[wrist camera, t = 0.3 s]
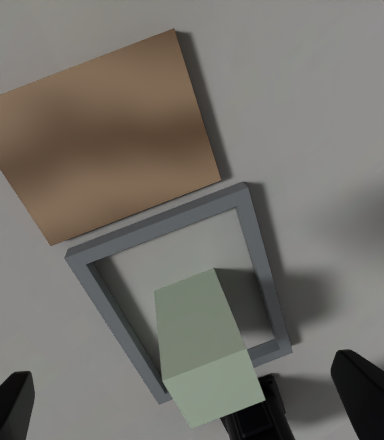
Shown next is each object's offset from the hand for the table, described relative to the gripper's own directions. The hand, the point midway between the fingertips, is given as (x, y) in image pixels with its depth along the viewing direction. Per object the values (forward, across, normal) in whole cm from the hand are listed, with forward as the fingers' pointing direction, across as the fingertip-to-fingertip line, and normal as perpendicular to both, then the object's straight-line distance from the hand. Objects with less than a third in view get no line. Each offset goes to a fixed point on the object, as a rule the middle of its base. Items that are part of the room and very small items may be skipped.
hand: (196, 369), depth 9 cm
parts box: (+14, -3, +9) cm, 17 cm away
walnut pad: (+14, +4, -4) cm, 14 cm away
